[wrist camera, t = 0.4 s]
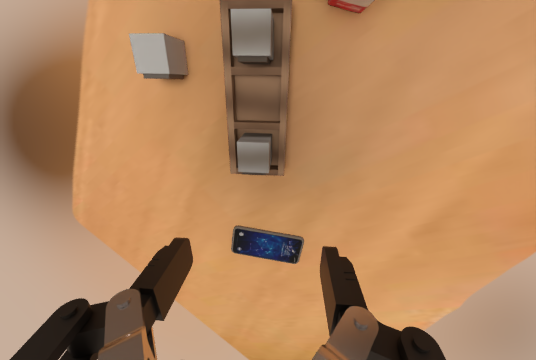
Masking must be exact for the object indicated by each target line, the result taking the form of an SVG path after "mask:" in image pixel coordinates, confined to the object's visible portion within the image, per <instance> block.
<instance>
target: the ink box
mask: <svg viewBox="0 0 536 360" xmlns="http://www.w3.org/2000/svg"><path fill="white" fill-rule="evenodd" d="M373 1H374V0H328V4H329V5H332V6H335V7H339V8H342V9H345V10H349V11H353V12H357V13H361V12H362V11H363V10H364V9H365V8H366V7H368V6H369V5H370V4H371V3H372V2H373Z"/></svg>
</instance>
